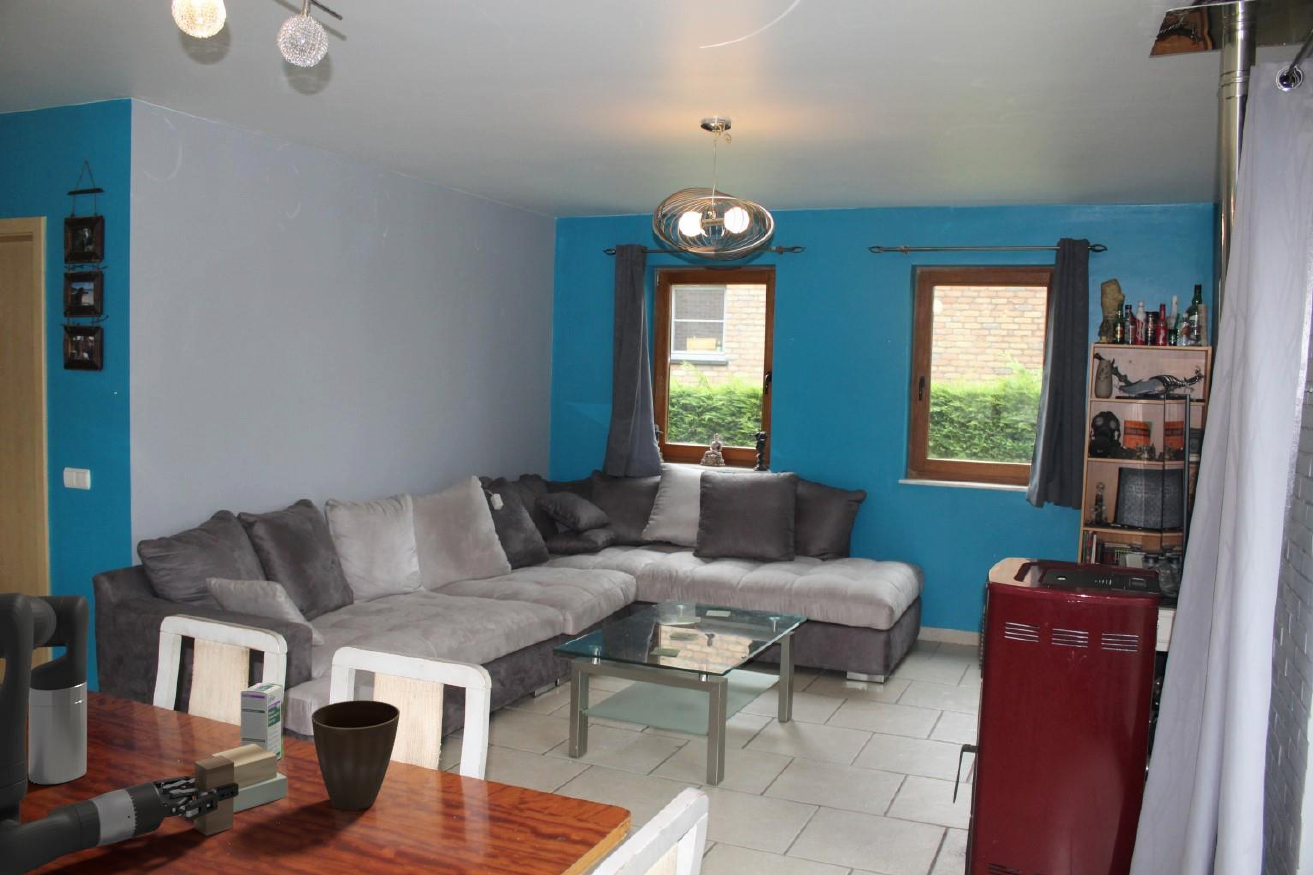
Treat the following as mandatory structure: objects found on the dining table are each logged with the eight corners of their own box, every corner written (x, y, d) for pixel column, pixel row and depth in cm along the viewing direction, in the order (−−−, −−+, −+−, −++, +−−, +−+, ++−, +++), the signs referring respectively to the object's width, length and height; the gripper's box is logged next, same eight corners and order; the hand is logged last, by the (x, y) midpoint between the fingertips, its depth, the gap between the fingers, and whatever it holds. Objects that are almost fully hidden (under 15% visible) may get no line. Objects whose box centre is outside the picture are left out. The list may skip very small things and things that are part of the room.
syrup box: (267, 767, 197) (268, 692, 196) (239, 764, 198) (240, 689, 197) (283, 757, 202) (284, 684, 201) (256, 753, 203) (257, 681, 203)
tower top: (210, 776, 183) (211, 754, 182) (253, 764, 189) (253, 743, 188) (233, 789, 177) (234, 766, 177) (276, 776, 184) (277, 754, 183)
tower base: (204, 798, 183) (205, 776, 183) (258, 783, 190) (258, 761, 190) (232, 815, 176) (232, 792, 176) (286, 799, 184) (286, 777, 184)
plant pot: (415, 795, 186) (417, 708, 185) (358, 827, 173) (360, 733, 172) (350, 779, 192) (352, 695, 191) (291, 808, 179) (292, 718, 178)
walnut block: (193, 827, 170) (194, 761, 170) (220, 819, 174) (221, 755, 173) (206, 835, 167) (207, 769, 167) (233, 827, 171) (234, 762, 170)
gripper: (142, 804, 155) (251, 774, 167) (104, 777, 164) (210, 750, 177) (142, 853, 155) (251, 819, 168) (104, 823, 164) (209, 793, 177)
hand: (229, 784), depth 172 cm, fingers closed on walnut block, 4 cm apart
